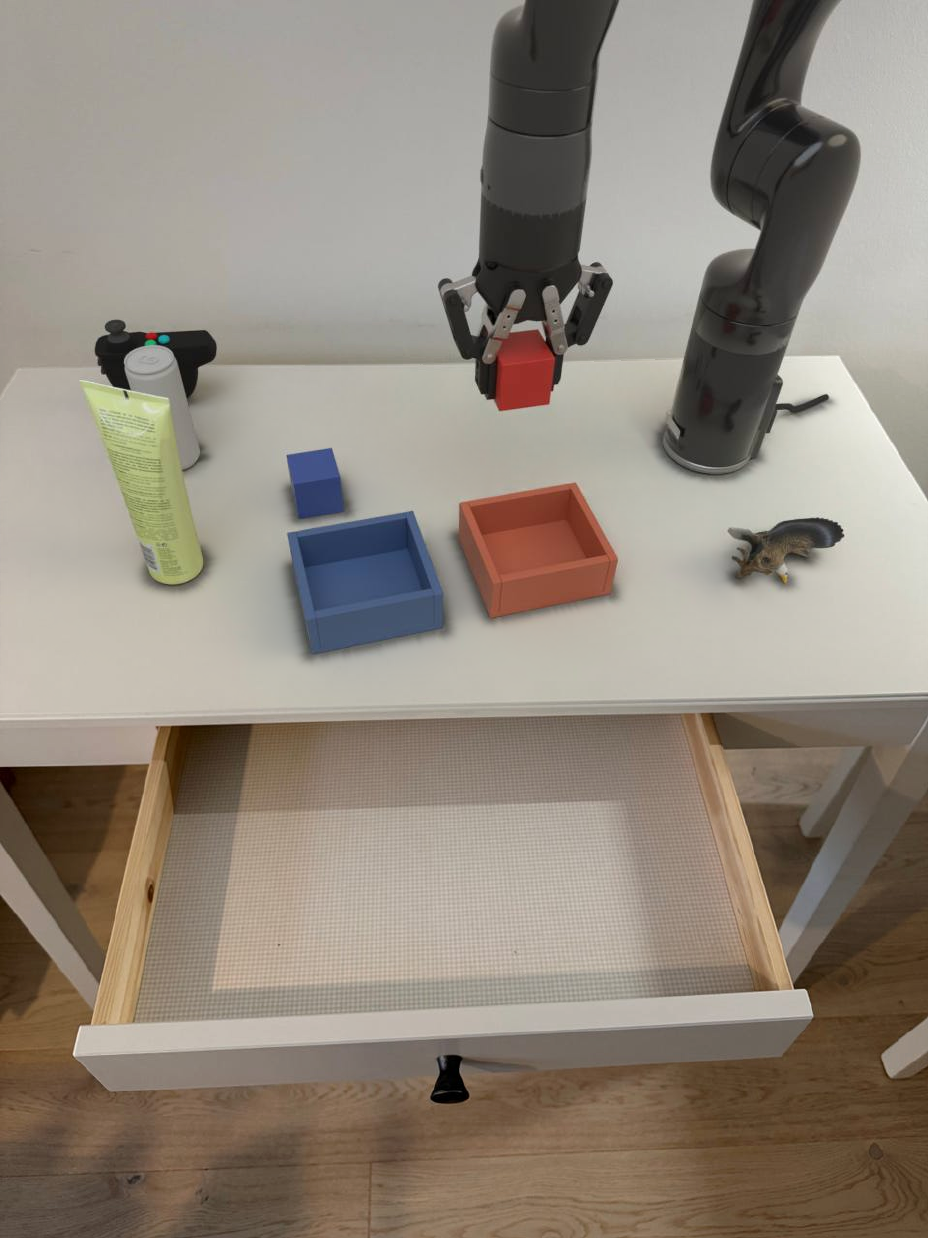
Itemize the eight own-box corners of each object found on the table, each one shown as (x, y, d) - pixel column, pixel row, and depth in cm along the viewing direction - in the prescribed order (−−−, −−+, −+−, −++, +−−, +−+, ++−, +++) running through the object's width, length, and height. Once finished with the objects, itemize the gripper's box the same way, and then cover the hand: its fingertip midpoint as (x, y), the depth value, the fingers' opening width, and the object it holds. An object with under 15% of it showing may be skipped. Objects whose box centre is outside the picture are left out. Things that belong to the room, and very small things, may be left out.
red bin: (570, 517, 87) (576, 481, 84) (610, 593, 80) (618, 558, 77) (458, 537, 85) (459, 502, 81) (490, 618, 78) (492, 583, 75)
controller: (115, 396, 98) (88, 314, 91) (227, 387, 100) (210, 306, 92) (112, 419, 95) (84, 337, 88) (227, 409, 97) (209, 328, 89)
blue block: (335, 482, 90) (331, 447, 86) (344, 511, 87) (340, 476, 83) (292, 489, 89) (286, 454, 85) (298, 519, 86) (293, 484, 82)
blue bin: (414, 545, 84) (413, 510, 80) (442, 628, 77) (443, 593, 74) (293, 568, 82) (286, 532, 78) (312, 654, 75) (306, 619, 72)
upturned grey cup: (190, 477, 90) (162, 376, 80) (146, 470, 90) (113, 369, 81) (208, 447, 93) (183, 347, 84) (165, 441, 93) (136, 341, 84)
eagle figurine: (784, 610, 78) (855, 558, 80) (761, 542, 75) (836, 490, 77) (727, 593, 85) (794, 545, 87) (704, 529, 82) (774, 482, 84)
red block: (533, 374, 77) (538, 328, 73) (549, 404, 74) (555, 358, 71) (484, 381, 76) (486, 334, 73) (498, 411, 73) (502, 365, 70)
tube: (203, 540, 84) (153, 362, 69) (217, 575, 81) (168, 397, 66) (143, 557, 82) (78, 379, 67) (156, 594, 79) (91, 415, 64)
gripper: (449, 219, 58) (446, 428, 71) (648, 199, 61) (611, 405, 74) (423, 171, 63) (425, 376, 76) (610, 155, 65) (581, 356, 78)
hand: (517, 389), depth 75 cm, fingers closed on red block, 4 cm apart
